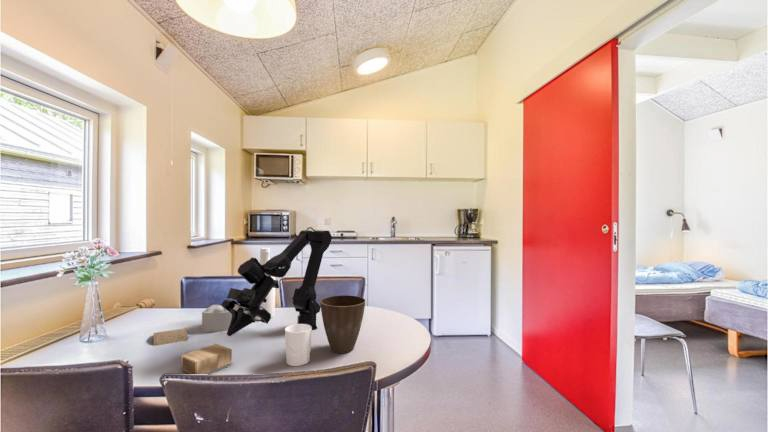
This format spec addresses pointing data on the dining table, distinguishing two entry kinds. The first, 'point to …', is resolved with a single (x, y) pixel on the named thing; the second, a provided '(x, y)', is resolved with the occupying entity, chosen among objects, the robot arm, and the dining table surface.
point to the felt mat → (218, 369)
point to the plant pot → (342, 321)
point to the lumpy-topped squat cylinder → (215, 319)
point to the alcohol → (271, 296)
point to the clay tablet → (170, 336)
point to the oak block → (206, 359)
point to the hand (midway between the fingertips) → (228, 335)
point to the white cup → (298, 344)
